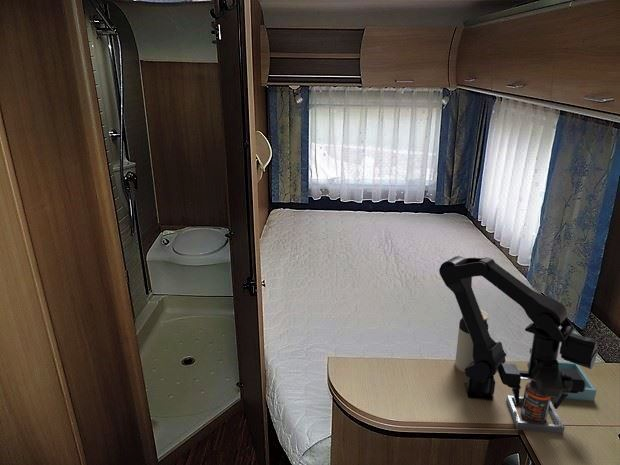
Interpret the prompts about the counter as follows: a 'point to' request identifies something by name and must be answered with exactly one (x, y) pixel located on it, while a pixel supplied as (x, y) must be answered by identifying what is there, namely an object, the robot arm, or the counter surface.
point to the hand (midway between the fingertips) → (535, 406)
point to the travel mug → (465, 344)
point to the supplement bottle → (534, 404)
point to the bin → (589, 389)
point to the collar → (535, 426)
